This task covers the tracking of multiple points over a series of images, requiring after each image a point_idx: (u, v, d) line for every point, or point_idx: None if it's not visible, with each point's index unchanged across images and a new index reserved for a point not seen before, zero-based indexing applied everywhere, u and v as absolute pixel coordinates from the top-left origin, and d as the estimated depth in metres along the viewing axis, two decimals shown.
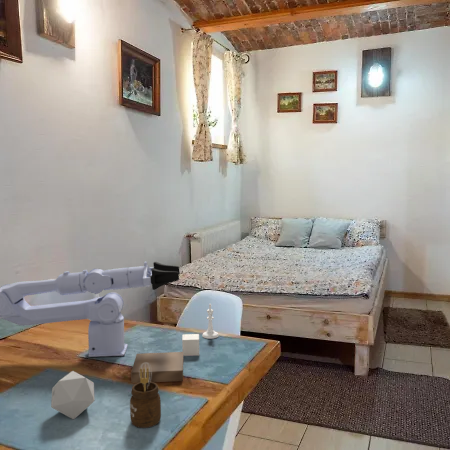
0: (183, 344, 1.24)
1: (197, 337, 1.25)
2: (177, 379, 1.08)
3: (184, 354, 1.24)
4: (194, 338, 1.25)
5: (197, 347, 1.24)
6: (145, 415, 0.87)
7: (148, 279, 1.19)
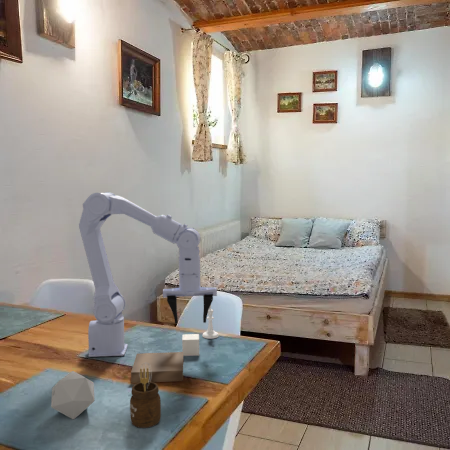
0: (183, 344, 1.24)
1: (197, 337, 1.25)
2: (177, 379, 1.08)
3: (184, 354, 1.24)
4: (194, 338, 1.25)
5: (197, 347, 1.24)
6: (145, 415, 0.87)
7: None
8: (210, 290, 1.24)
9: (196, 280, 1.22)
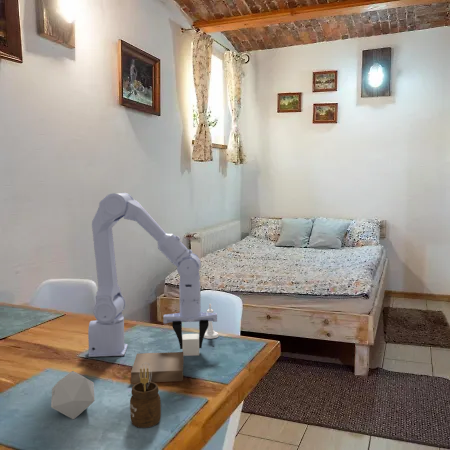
0: (183, 344, 1.24)
1: (197, 337, 1.25)
2: (177, 379, 1.08)
3: (184, 354, 1.24)
4: (194, 338, 1.25)
5: (197, 347, 1.24)
6: (145, 415, 0.87)
7: None
8: (210, 316, 1.25)
9: (196, 307, 1.23)
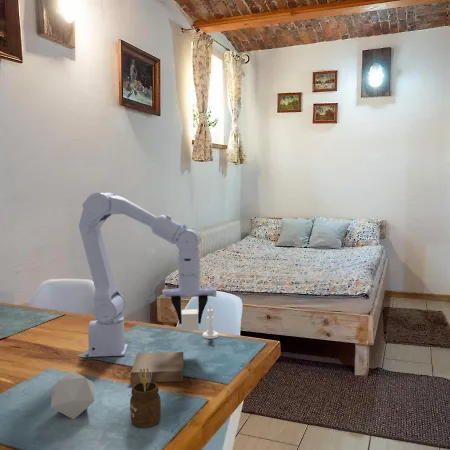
0: (182, 318, 1.23)
1: (196, 312, 1.25)
2: (177, 379, 1.08)
3: (183, 329, 1.23)
4: (193, 313, 1.24)
5: (196, 322, 1.23)
6: (145, 415, 0.87)
7: None
8: (210, 291, 1.24)
9: (195, 281, 1.22)
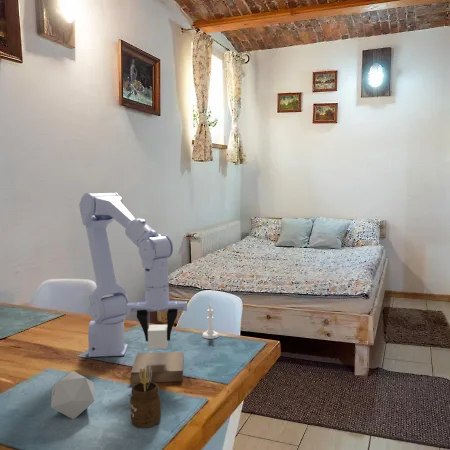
0: (149, 335, 1.11)
1: (165, 328, 1.12)
2: (177, 379, 1.08)
3: (150, 347, 1.11)
4: (161, 329, 1.12)
5: (164, 339, 1.11)
6: (145, 415, 0.87)
7: None
8: (179, 304, 1.12)
9: (163, 294, 1.10)
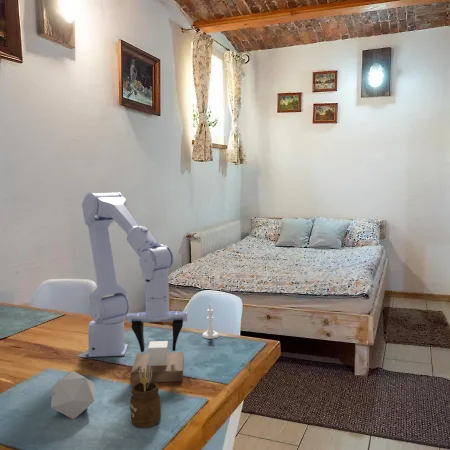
0: (149, 352, 1.11)
1: (165, 345, 1.13)
2: (177, 380, 1.08)
3: (150, 364, 1.11)
4: (162, 346, 1.12)
5: (165, 356, 1.11)
6: (145, 415, 0.87)
7: None
8: (180, 315, 1.12)
9: (163, 305, 1.10)
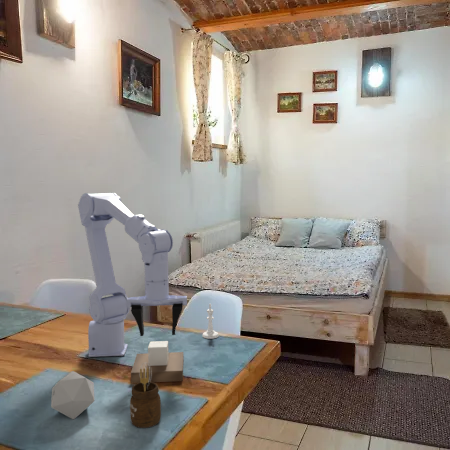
0: (149, 352, 1.11)
1: (165, 345, 1.12)
2: (177, 380, 1.08)
3: (150, 363, 1.11)
4: (161, 345, 1.12)
5: (165, 356, 1.11)
6: (145, 415, 0.87)
7: None
8: (179, 299, 1.12)
9: (163, 288, 1.10)
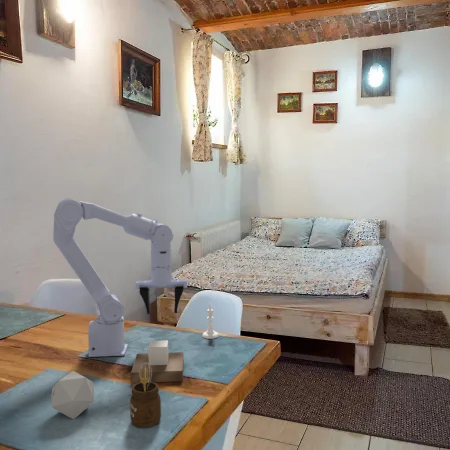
0: (149, 352, 1.11)
1: (165, 344, 1.13)
2: (177, 380, 1.08)
3: (150, 363, 1.12)
4: (162, 345, 1.12)
5: (165, 355, 1.12)
6: (145, 415, 0.87)
7: None
8: (181, 282, 1.30)
9: (166, 273, 1.29)
